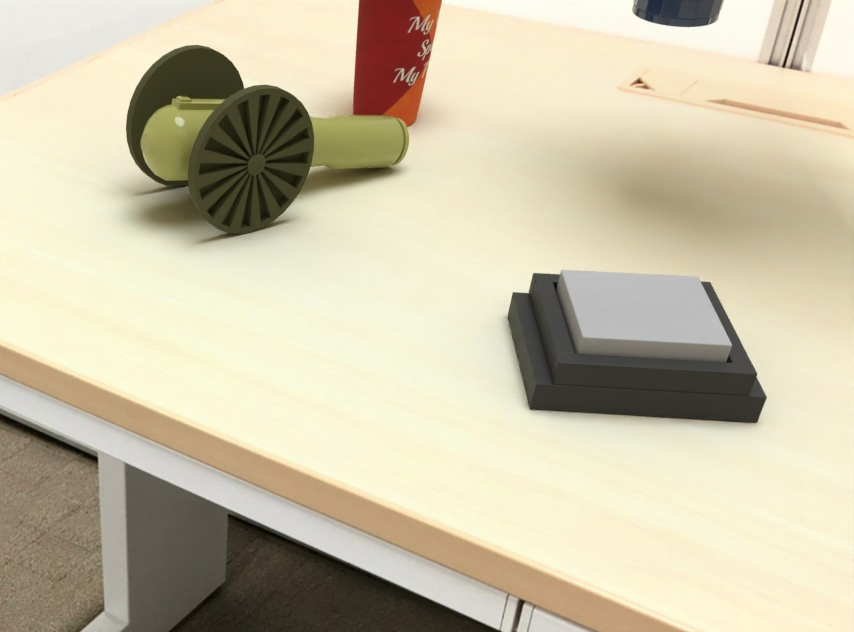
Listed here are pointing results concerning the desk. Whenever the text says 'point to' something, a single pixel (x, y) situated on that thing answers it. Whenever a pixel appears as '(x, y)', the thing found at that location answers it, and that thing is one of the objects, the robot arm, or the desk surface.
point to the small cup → (678, 12)
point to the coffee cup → (393, 56)
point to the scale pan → (641, 316)
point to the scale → (625, 369)
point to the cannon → (243, 139)
